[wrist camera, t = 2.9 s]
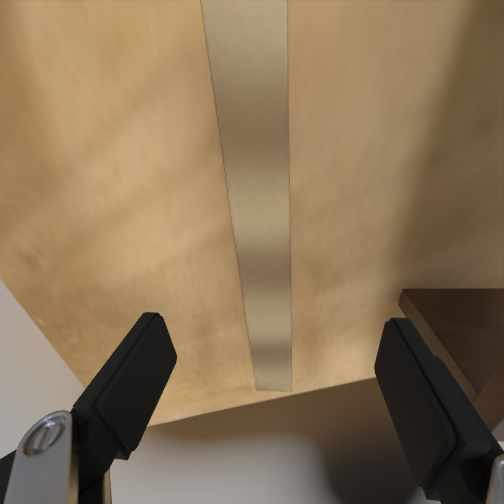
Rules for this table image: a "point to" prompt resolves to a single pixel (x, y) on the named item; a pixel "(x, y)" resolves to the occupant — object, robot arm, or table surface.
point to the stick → (256, 168)
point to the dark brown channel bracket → (465, 342)
